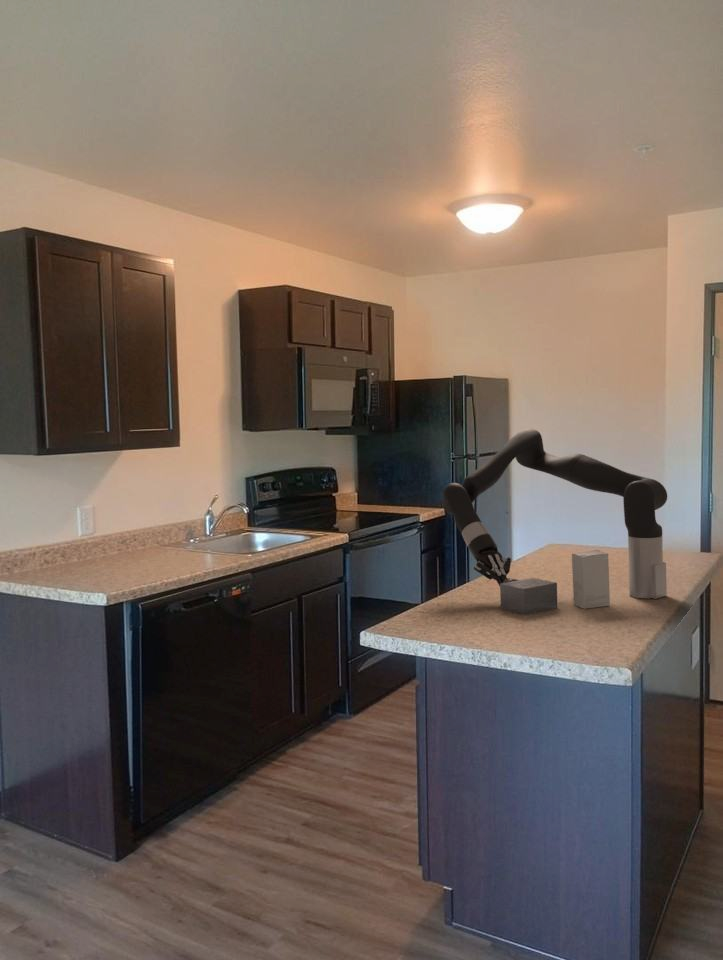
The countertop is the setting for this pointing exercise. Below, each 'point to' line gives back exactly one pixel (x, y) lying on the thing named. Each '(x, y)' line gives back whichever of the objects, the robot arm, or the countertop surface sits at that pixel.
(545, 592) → the block
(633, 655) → the countertop surface
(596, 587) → the skincare box
